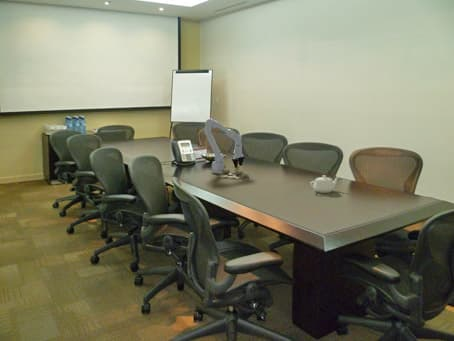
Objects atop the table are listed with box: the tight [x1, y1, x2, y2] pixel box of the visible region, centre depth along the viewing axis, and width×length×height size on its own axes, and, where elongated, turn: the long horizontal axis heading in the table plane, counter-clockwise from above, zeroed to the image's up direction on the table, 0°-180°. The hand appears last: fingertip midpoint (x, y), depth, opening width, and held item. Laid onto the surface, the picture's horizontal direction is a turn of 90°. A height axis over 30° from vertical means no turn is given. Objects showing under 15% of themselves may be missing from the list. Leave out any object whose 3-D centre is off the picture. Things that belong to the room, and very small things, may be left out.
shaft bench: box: [217, 168, 247, 180], centre depth 313 cm, size 17×14×5 cm
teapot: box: [309, 174, 340, 194], centre depth 266 cm, size 22×14×11 cm, turn 111°
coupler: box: [234, 164, 243, 172], centre depth 326 cm, size 4×4×6 cm
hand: (238, 166), depth 325 cm, fingers open, 7 cm apart
